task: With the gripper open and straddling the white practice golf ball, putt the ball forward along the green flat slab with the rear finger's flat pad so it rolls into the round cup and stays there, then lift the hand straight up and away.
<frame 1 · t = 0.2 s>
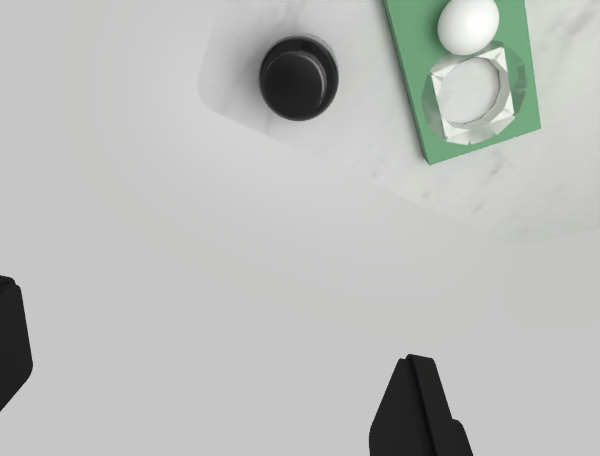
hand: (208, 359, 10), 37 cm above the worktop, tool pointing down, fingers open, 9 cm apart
supplement bottle: (304, 70, 41), on the worktop
green flat slab: (458, 55, 40), on the worktop
ball: (467, 24, 34), point 5 cm above the worktop, touching green flat slab
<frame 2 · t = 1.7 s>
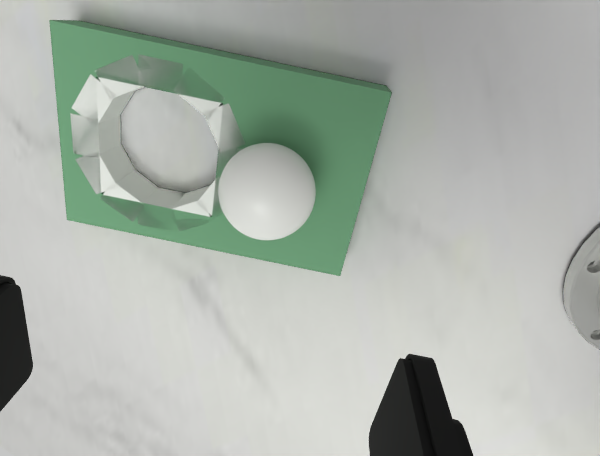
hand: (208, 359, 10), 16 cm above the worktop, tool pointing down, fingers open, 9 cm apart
green flat slab: (231, 152, 24), on the worktop
ball: (267, 192, 20), point 5 cm above the worktop, touching green flat slab
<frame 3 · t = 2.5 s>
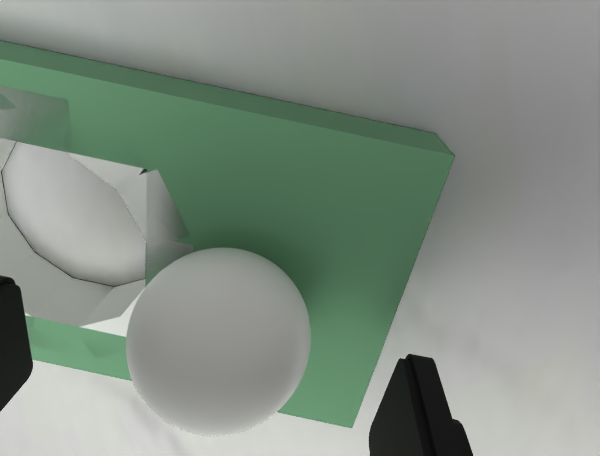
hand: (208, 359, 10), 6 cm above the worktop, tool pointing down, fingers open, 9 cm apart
green flat slab: (179, 231, 15), on the worktop
ball: (222, 336, 11), point 5 cm above the worktop, touching green flat slab
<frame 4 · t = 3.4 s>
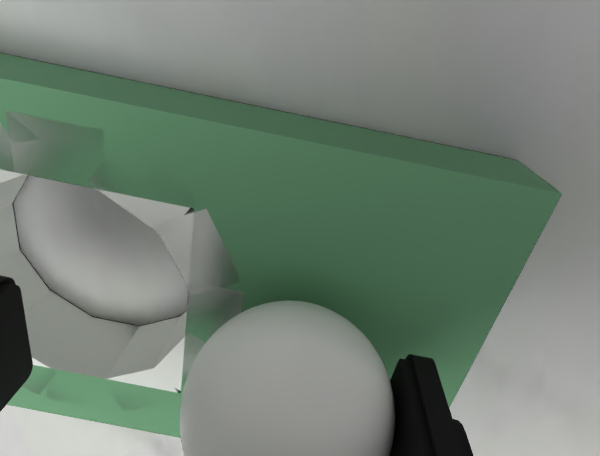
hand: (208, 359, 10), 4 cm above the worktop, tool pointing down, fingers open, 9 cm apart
green flat slab: (216, 267, 14), on the worktop
ball: (288, 406, 9), point 5 cm above the worktop, touching gripper, green flat slab
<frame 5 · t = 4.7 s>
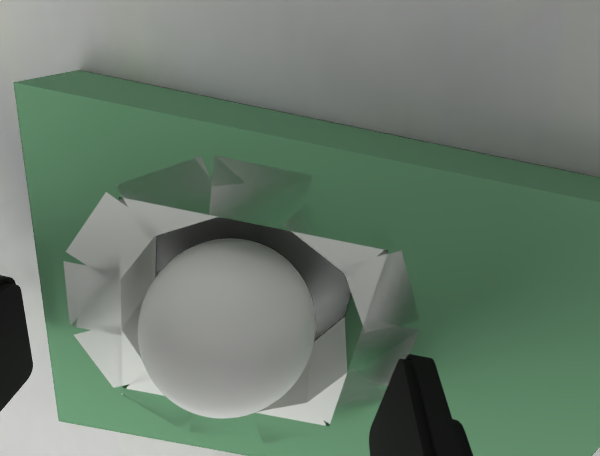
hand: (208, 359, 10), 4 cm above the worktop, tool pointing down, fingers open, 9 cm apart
green flat slab: (356, 297, 14), on the worktop
ball: (229, 323, 11), point 2 cm above the worktop, tilted 176°
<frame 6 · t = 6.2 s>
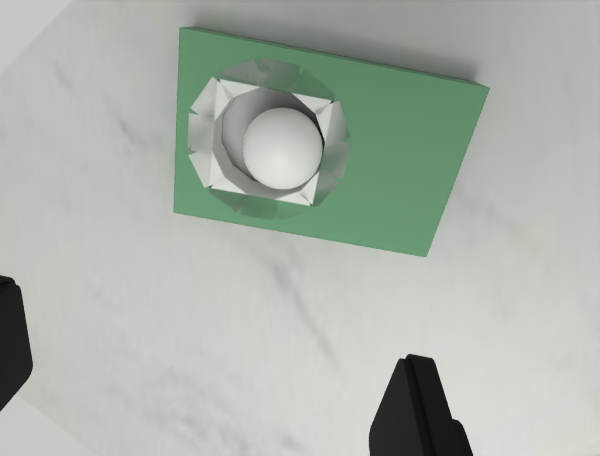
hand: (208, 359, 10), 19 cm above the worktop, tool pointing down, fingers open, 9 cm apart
green flat slab: (325, 145, 26), on the worktop
ball: (282, 149, 24), point 2 cm above the worktop, tilted 156°
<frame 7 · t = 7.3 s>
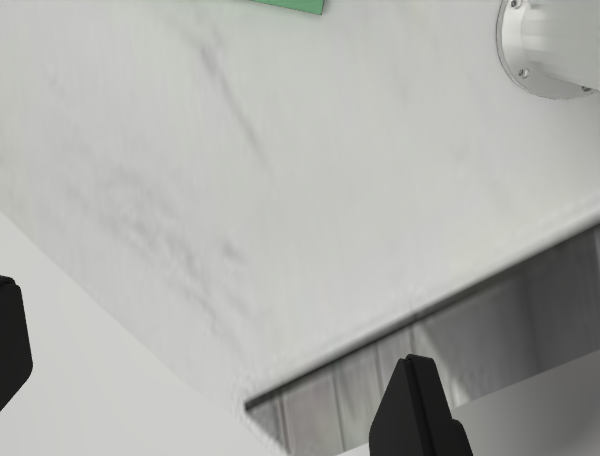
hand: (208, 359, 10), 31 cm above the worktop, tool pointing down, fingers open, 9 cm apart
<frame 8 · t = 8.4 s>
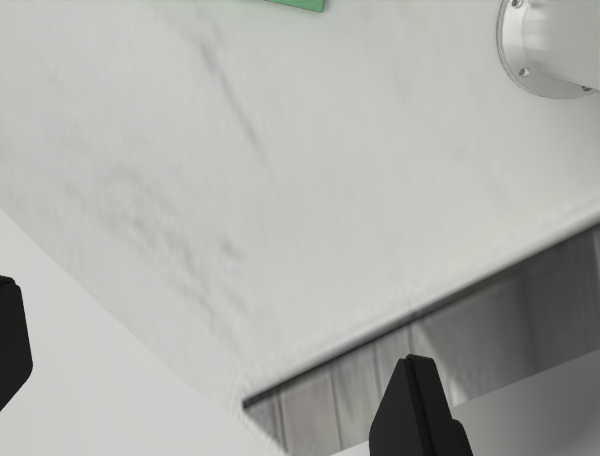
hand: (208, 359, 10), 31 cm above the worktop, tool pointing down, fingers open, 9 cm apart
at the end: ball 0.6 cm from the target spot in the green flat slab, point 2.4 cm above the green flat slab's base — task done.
